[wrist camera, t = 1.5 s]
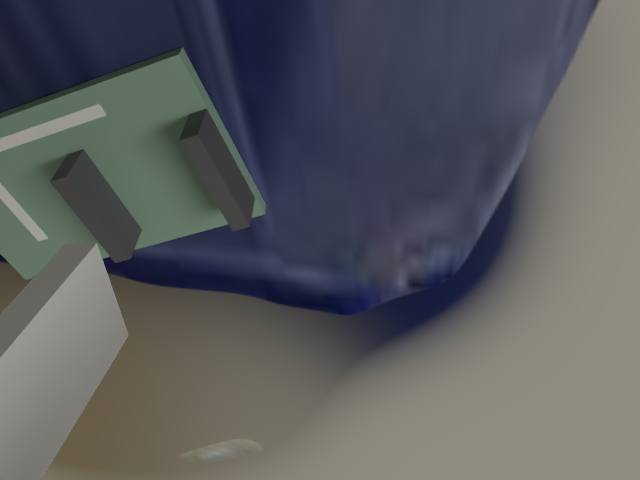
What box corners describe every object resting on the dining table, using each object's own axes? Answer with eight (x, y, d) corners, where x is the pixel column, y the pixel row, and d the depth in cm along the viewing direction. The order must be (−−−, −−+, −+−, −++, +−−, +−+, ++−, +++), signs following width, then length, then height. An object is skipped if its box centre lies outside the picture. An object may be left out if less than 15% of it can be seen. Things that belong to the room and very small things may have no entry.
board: (-89, 145, 38) (-126, 181, 35) (182, 46, 33) (166, 78, 30) (30, 270, 45) (8, 308, 42) (266, 205, 40) (260, 243, 37)
